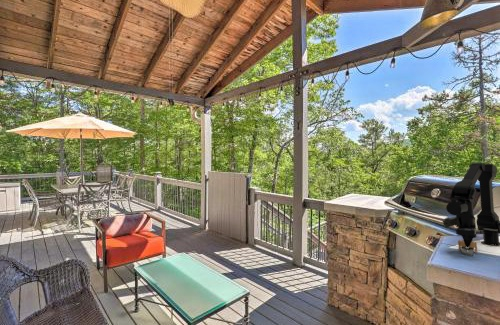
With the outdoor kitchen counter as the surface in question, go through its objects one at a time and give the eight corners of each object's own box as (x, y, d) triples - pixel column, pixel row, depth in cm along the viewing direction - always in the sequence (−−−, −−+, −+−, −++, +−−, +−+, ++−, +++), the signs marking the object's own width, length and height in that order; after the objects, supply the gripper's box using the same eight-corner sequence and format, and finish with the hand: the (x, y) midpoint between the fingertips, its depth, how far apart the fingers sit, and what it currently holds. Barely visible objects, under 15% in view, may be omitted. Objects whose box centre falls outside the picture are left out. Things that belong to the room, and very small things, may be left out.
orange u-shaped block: (477, 253, 118) (476, 243, 118) (458, 250, 122) (458, 241, 123) (477, 251, 120) (476, 242, 121) (459, 249, 125) (458, 240, 125)
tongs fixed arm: (473, 256, 115) (473, 251, 115) (461, 254, 118) (461, 249, 118) (474, 245, 130) (474, 241, 130) (463, 244, 133) (463, 239, 133)
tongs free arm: (466, 252, 120) (466, 248, 120) (461, 251, 121) (460, 247, 121) (465, 244, 132) (465, 240, 132) (460, 243, 133) (460, 240, 133)
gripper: (445, 208, 132) (447, 239, 132) (440, 214, 118) (443, 249, 118) (474, 209, 125) (476, 243, 124) (473, 216, 111) (476, 253, 110)
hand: (467, 247), depth 119 cm, fingers closed
